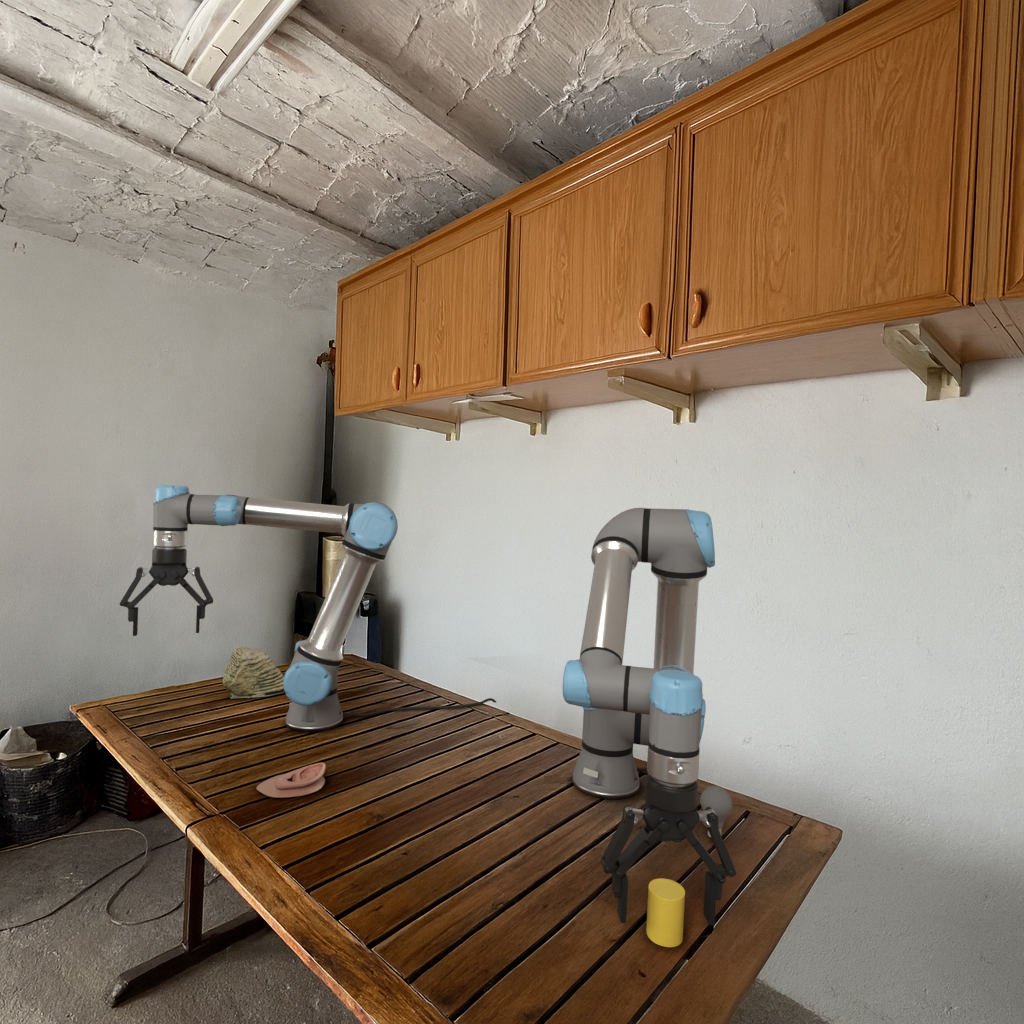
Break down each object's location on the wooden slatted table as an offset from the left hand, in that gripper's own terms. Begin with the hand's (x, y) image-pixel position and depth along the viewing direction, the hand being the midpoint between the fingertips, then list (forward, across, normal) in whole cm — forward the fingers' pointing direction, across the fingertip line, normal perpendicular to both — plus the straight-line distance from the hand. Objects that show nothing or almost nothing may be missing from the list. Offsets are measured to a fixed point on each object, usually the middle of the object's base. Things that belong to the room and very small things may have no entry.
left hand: (166, 633), depth 157 cm
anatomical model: (+28, +26, -35) cm, 52 cm away
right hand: (+25, +71, -104) cm, 129 cm away
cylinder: (+28, +71, -104) cm, 129 cm away
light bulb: (+28, +99, -86) cm, 134 cm away
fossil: (+28, +23, +34) cm, 50 cm away
